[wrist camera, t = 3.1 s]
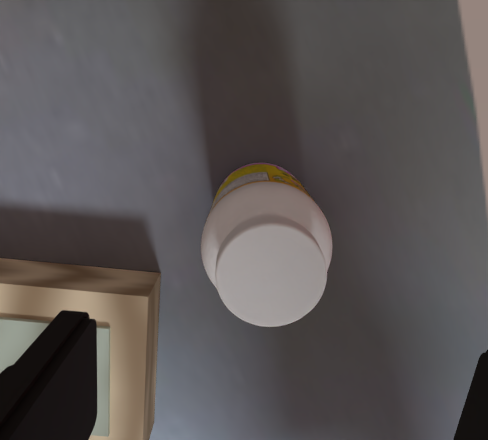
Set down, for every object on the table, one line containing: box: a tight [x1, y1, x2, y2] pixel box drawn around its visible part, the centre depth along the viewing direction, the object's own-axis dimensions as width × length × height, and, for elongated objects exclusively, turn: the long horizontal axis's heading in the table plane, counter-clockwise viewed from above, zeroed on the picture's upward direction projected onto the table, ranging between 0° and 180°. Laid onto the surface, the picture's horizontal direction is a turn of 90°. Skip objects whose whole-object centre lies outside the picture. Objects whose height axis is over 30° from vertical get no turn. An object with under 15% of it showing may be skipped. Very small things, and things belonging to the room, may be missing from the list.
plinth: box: [0, 258, 161, 440], centre depth 29 cm, size 14×14×4 cm
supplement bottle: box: [201, 163, 332, 327], centre depth 22 cm, size 7×7×13 cm
